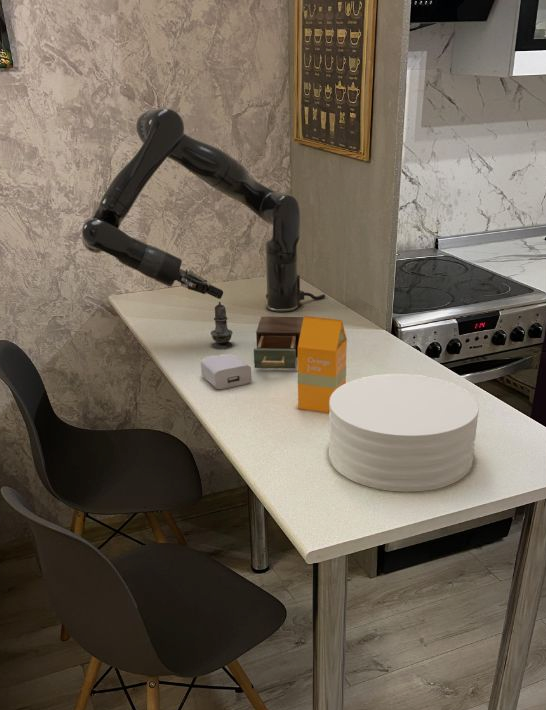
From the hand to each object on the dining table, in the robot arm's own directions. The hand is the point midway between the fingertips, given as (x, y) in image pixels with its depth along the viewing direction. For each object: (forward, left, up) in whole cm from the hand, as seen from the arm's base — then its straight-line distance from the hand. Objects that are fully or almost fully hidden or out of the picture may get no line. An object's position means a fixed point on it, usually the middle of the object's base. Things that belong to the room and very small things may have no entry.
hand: (221, 295), depth 195 cm
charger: (+13, +16, -14) cm, 25 cm away
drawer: (-1, +21, -13) cm, 24 cm away
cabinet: (-10, +11, -14) cm, 20 cm away
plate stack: (+11, +73, -14) cm, 75 cm away
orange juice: (+6, +45, -14) cm, 47 cm away
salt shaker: (0, -1, -14) cm, 14 cm away
